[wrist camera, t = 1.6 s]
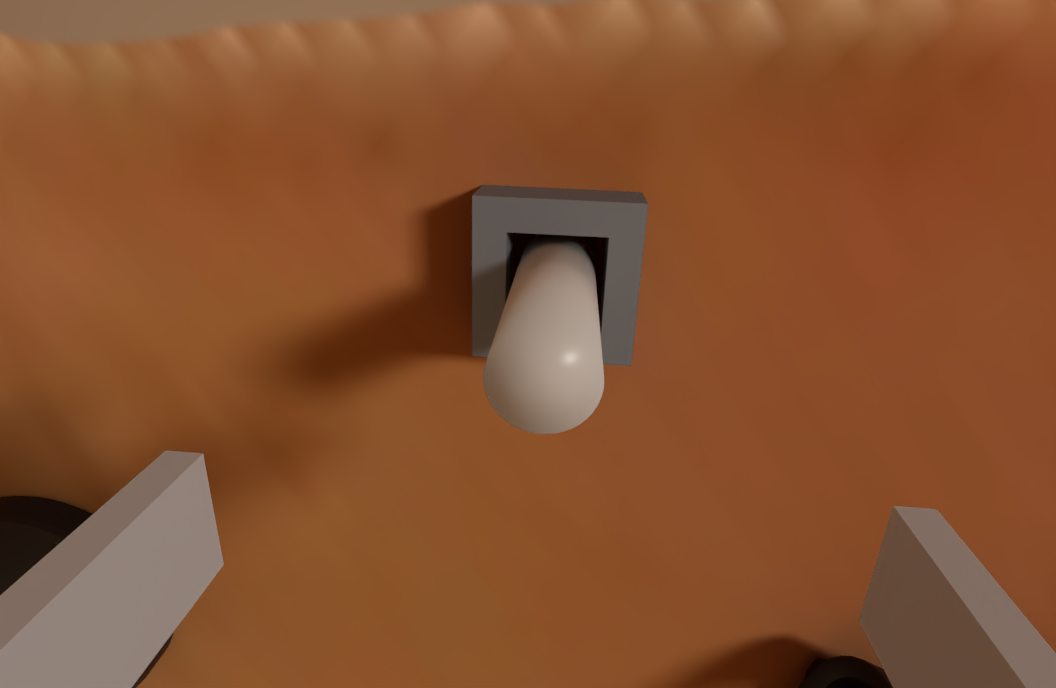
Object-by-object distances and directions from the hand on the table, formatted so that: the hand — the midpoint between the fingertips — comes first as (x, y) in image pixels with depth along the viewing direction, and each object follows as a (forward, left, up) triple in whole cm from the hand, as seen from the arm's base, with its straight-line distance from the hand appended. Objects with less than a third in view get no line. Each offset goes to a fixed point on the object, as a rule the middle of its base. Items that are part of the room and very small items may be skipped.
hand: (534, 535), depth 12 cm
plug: (0, 0, -20) cm, 20 cm away
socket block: (0, 0, -20) cm, 20 cm away
